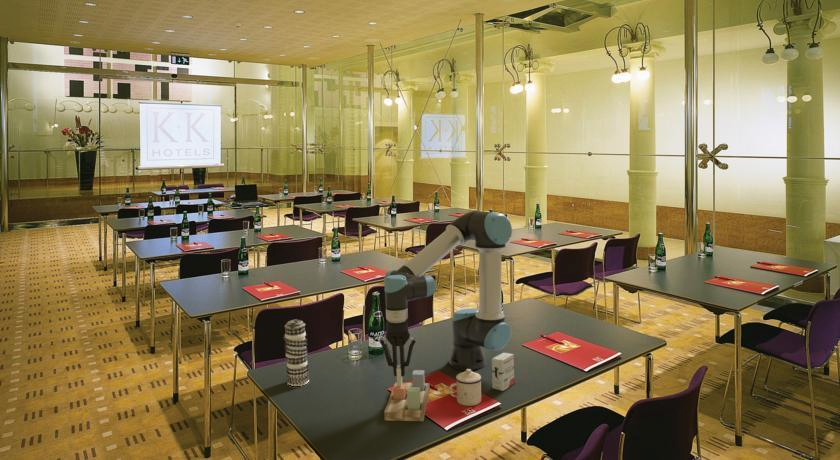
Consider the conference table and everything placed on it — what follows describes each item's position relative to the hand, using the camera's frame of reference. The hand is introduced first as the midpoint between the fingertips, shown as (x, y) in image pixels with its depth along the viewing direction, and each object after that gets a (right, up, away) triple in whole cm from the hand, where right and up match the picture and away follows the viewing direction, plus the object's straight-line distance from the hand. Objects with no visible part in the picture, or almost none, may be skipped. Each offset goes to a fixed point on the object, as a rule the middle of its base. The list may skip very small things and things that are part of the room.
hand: (399, 384), depth 197 cm
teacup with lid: (+23, -7, +2) cm, 24 cm away
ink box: (+39, -5, +14) cm, 41 cm away
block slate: (+7, -4, +7) cm, 10 cm away
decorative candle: (-41, -6, +23) cm, 47 cm away
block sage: (+5, -6, -7) cm, 11 cm away
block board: (+3, -7, +1) cm, 8 cm away
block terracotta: (0, -7, +1) cm, 7 cm away
